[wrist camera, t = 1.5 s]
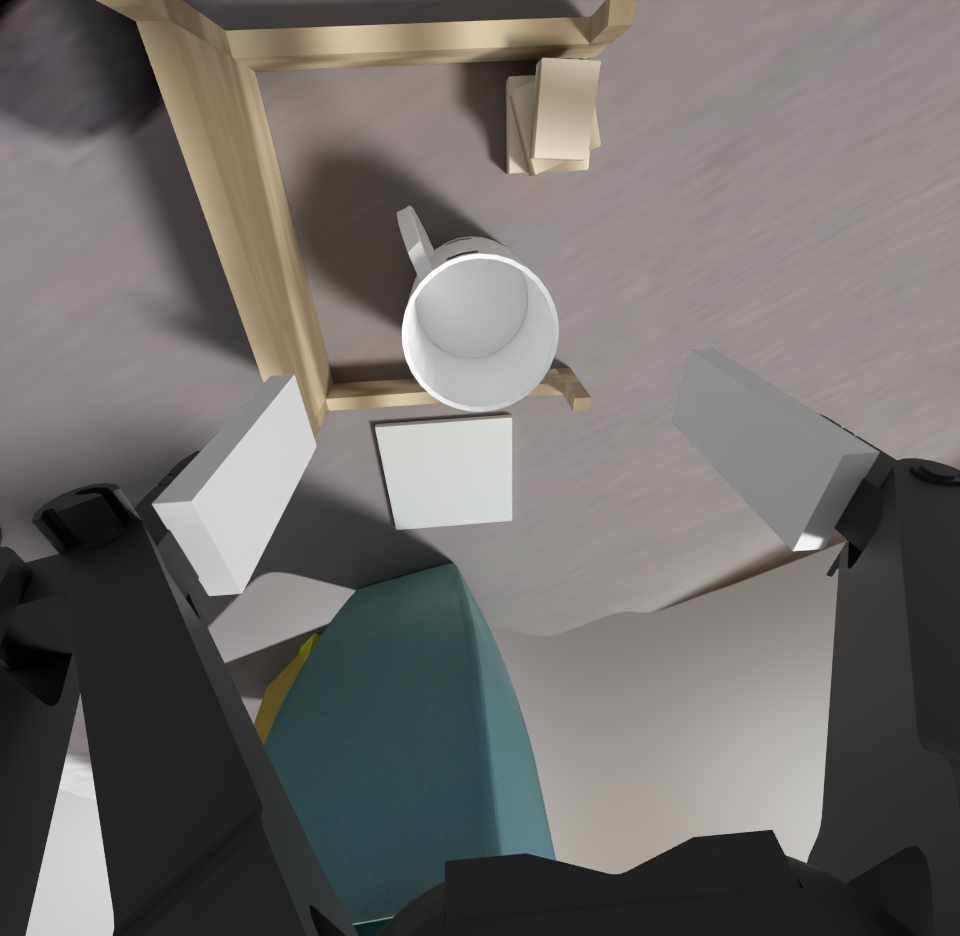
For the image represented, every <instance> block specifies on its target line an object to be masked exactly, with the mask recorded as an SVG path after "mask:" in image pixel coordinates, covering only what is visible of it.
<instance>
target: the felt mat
mask: <svg viewBox="0 0 960 936" xmlns="http://www.w3.org/2000/svg"><path fill="white" fill-rule="evenodd" d="M375 430H376V435H377V440H378V445H379V449H380V454H381V459H382V464H383V468H384V473H385V478H386V483H387V488H388V492H389V497H390V502H391V507H392V512H393V516H394V521H395V526H396V530H402V529H414V528H426V527H439V526H451V525H463V524H476V523H488V522H500V521H512V416H511V414H510V415H496V416H482V417H469V418H455V419H441V420H427V421H413V422H399V423H385V424H376V425H375Z"/></svg>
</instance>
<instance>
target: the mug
mask: <svg viewBox="0 0 960 936" xmlns="http://www.w3.org/2000/svg"><path fill="white" fill-rule="evenodd" d="M397 218H398V223H399V227H400V231H401V234H402V237H403V240H404V243H405V246H406V249H407V252H408V254H409V256H410V259H411V261H412V263H413V266H414V268H415V270H416V273H417V276H416V278H415V281H414V284H413V287H412V291H411V294H410V297H409V300H408V304H407V307H406V310H405V314H404V320H403V326H402V345H403V349H404V354H405V358H406V361H407V363H408V365H409V368H410V370H411V372H412V374H413V375H414V377H415V378H416V380H417V381H418V382H419V384H420V385H421V386H422V387H423V388H424V389H425V390H426V391H427V392H428V393H429V394H430V395H431V396H433V397H434V398H436V399H437V400H439V401H440V402H442V403H444V404H447V405H449V406H451V407H454V408H457V409H461V410H466V411H479V412H484V411H491V410H497V409H500V408H503V407H506V406H509V405H511V404H513V403H515V402H517V401H519V400H521V399H522V398H524V397H525V396H526V395H527V394H529V393H530V392H531V391H532V390H534V389H535V387H536V386H537V385H538V384H539V383H540V382H541V381H542V379H543V378H544V376H545V375H546V373H547V372H548V370H549V368H550V367H551V364H552V361H553V359H554V356H555V354H556V349H557V344H558V338H559V328H558V318H557V313H556V308H555V305H554V303H553V301H552V298H551V296H550V294H549V292H548V290H547V289H546V288H545V286H544V285H543V283H542V282H541V281H540V279H539V278H538V277H537V276H536V275H535V274H534V273H533V272H532V271H531V270H530V269H529V268H528V267H526V266H525V265H524V264H523V263H522V262H521V261H520V260H519V259H518V258H517V257H516V256H515V255H514V254H513V253H512V252H511V251H510V250H508V249H507V248H506V247H505V246H503V245H501V244H499V243H498V242H496V241H493V240H490V239H487V238H484V237H472V236H469V237H462V238H457V239H454V240H452V241H449V242H446V243H445V244H443V245H441V246H440V247H438V248H437V249H435V250H434V249H433V247H432V245H431V242H430V240H429V238H428V236H427V234H426V232H425V229H424V228H423V226H422V224H421V222H420V220H419V218H418V216H417V214H416V213H415V211H414V209H413V207H411V206H408V207H406V208H405V209H403V210H401V211H399V212H397Z"/></svg>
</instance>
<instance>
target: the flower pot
mask: <svg viewBox="0 0 960 936" xmlns="http://www.w3.org/2000/svg"><path fill="white" fill-rule="evenodd" d="M263 746H264V748H265V750H266V752H267V754H268V756H269V758H270V760H271V763H272V765H273V767H274V769H275V771H276V773H277V775H278V777H279V779H280V782H281V784H282V786H283V788H284V790H285V792H286V794H287V796H288V798H289V800H290V803H291V805H292V807H293V809H294V811H295V813H296V815H297V817H298V819H299V822H300V824H301V826H302V828H303V830H304V832H305V834H306V836H307V838H308V840H309V843H310V845H311V847H312V849H313V851H314V853H315V855H316V857H317V859H318V862H319V864H320V866H321V868H322V870H323V872H324V874H325V876H326V877H327V879H328V881H329V883H330V885H331V886H332V888H333V890H334V891H335V893H336V895H337V896H338V898H339V900H340V901H341V903H342V905H343V907H344V909H345V910H346V912H347V914H348V916H349V918H350V920H351V922H352V924H353V926H354V928H355V930H356V932H357V934H358V936H377V935H378V934H379V932H380V931H381V930H382V929H383V928H384V927H385V926H386V924H387V923H388V922H389V921H390V920H391V919H392V918H393V917H394V916H395V915H396V914H398V913H399V912H400V911H401V910H402V909H403V908H404V907H405V906H407V905H408V904H409V903H410V902H411V901H413V900H414V899H416V898H417V897H419V896H420V895H422V894H423V893H425V892H426V891H427V890H429V889H431V888H433V887H435V886H437V885H439V884H441V883H443V882H445V861H449V860H460V859H471V858H481V857H492V856H502V855H513V854H523V853H528V854H532V855H536V856H540V857H544V858H548V859H552V860H556V858H555V853H554V848H553V844H552V839H551V834H550V829H549V825H548V820H547V815H546V811H545V806H544V801H543V796H542V791H541V787H540V782H539V777H538V772H537V768H536V763H535V758H534V755H533V751H532V747H531V743H530V739H529V735H528V732H527V729H526V725H525V722H524V718H523V715H522V712H521V709H520V706H519V703H518V700H517V697H516V694H515V691H514V688H513V685H512V682H511V679H510V677H509V674H508V671H507V669H506V666H505V663H504V661H503V659H502V656H501V654H500V651H499V649H498V646H497V644H496V642H495V640H494V637H493V635H492V633H491V631H490V629H489V627H488V625H487V623H486V621H485V619H484V617H483V615H482V613H481V611H480V609H479V607H478V605H477V604H476V602H475V600H474V598H473V596H472V594H471V592H470V590H469V588H468V586H467V585H466V583H465V581H464V579H463V577H462V575H461V573H460V571H459V570H458V568H457V566H456V565H454V564H451V563H448V564H444V565H441V566H437V567H433V568H430V569H426V570H423V571H419V572H416V573H413V574H409V575H406V576H402V577H399V578H395V579H392V580H388V581H385V582H381V583H378V584H374V585H371V586H367V587H364V588H361V589H358V590H356V591H355V593H354V594H353V595H352V596H351V597H350V598H349V599H348V601H347V602H346V603H345V604H344V605H343V607H342V608H341V609H340V610H339V612H338V613H337V614H336V616H335V617H334V618H333V620H332V621H331V622H330V624H329V625H328V626H327V628H326V629H325V631H324V632H323V634H322V635H321V637H320V638H319V640H318V641H317V643H316V644H315V646H314V648H313V649H312V651H311V652H310V654H309V656H308V657H307V659H306V660H305V662H304V664H303V666H302V667H301V669H300V671H299V672H298V674H297V676H296V678H295V680H294V682H293V683H292V685H291V687H290V689H289V691H288V693H287V695H286V697H285V699H284V701H283V703H282V705H281V707H280V709H279V711H278V713H277V715H276V717H275V719H274V721H273V724H272V726H271V728H270V731H269V733H268V736H267V738H266V740H265V743H264V745H263Z"/></svg>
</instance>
